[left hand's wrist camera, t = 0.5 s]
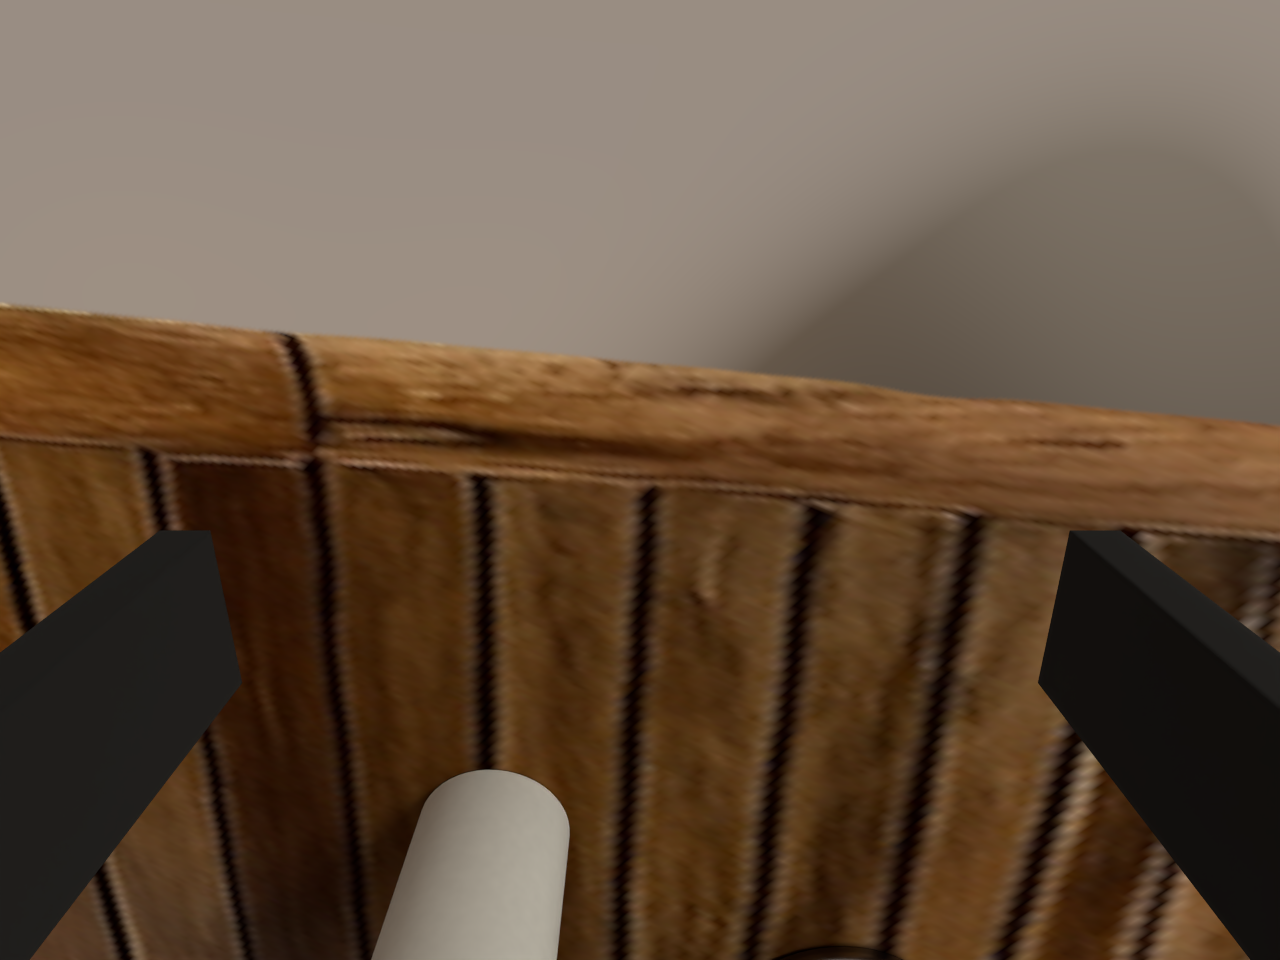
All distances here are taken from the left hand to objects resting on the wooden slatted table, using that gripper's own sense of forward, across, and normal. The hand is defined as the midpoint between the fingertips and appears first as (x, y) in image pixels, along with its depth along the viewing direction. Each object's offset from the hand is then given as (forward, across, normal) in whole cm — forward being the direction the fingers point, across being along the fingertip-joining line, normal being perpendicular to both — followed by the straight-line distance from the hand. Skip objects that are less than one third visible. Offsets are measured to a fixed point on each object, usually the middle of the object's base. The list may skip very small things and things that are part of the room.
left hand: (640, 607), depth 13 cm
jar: (+28, +9, +32) cm, 43 cm away
